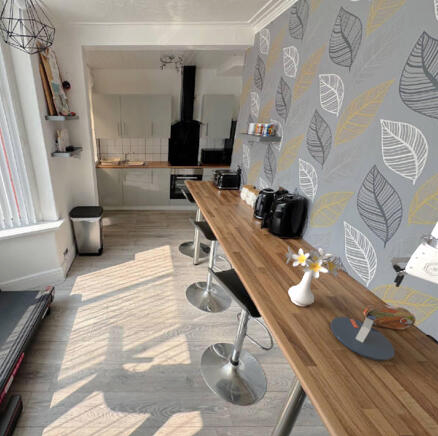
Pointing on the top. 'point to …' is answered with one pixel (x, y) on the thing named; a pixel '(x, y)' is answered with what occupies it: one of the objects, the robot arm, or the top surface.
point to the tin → (389, 316)
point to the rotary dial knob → (362, 338)
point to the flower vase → (310, 273)
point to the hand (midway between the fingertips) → (419, 293)
